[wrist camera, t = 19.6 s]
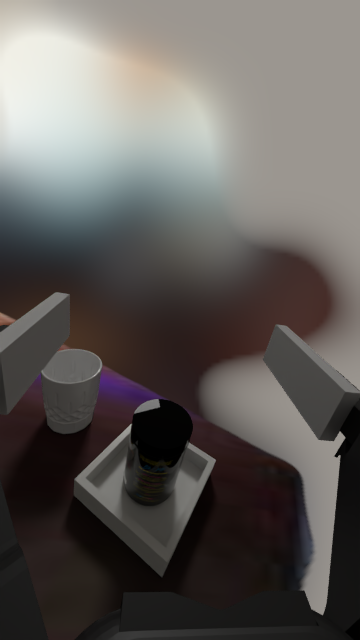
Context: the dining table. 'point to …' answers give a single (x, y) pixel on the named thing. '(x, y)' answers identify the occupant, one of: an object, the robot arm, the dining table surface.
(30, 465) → the dining table surface
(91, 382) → the white cup
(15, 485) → the dining table surface
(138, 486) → the supplement container
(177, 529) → the tray
